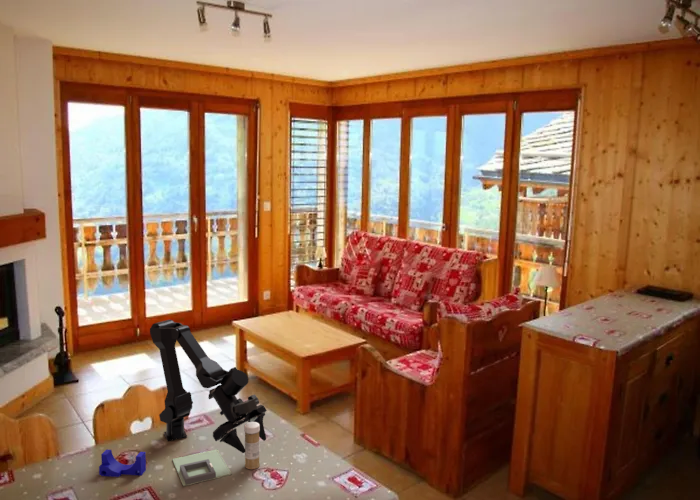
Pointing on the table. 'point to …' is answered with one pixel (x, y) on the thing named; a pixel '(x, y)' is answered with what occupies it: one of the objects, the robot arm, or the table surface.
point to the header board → (201, 467)
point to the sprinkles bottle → (252, 445)
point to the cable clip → (121, 465)
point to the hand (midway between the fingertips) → (255, 446)
